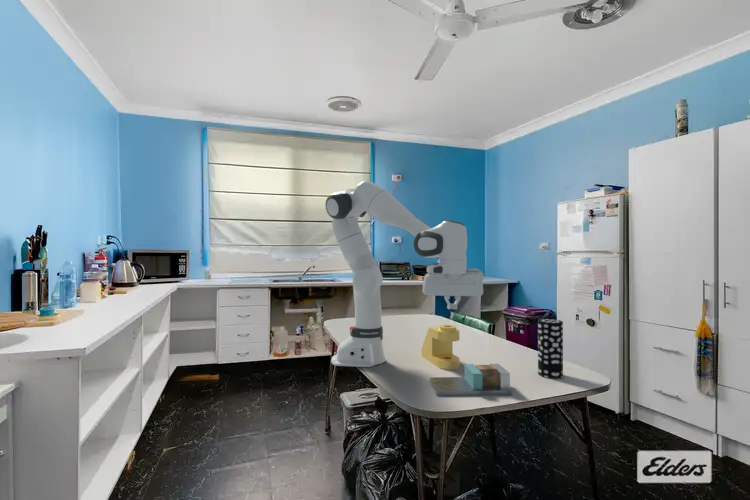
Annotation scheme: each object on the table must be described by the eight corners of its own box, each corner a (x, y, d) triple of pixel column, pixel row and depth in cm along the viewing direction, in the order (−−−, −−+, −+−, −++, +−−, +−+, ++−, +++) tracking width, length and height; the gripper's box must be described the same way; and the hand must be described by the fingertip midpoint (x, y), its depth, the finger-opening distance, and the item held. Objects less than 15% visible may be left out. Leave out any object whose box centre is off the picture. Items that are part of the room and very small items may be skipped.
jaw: (473, 389, 120) (473, 373, 120) (464, 378, 130) (464, 364, 130) (482, 389, 120) (482, 373, 120) (473, 378, 130) (472, 364, 130)
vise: (437, 396, 118) (437, 375, 118) (429, 381, 131) (429, 363, 131) (511, 394, 119) (511, 374, 119) (496, 380, 132) (496, 362, 132)
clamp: (463, 368, 145) (463, 328, 145) (442, 371, 142) (442, 329, 142) (440, 354, 164) (440, 318, 164) (421, 356, 161) (421, 319, 161)
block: (479, 385, 123) (479, 369, 123) (475, 380, 127) (475, 364, 127) (497, 385, 123) (497, 368, 123) (492, 380, 127) (492, 364, 127)
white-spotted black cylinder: (543, 369, 143) (543, 318, 143) (566, 374, 137) (566, 320, 137) (534, 374, 137) (534, 321, 137) (558, 380, 132) (557, 324, 132)
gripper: (480, 268, 129) (479, 308, 129) (422, 267, 128) (421, 307, 128) (486, 269, 123) (485, 311, 123) (425, 268, 122) (424, 310, 122)
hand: (452, 309), depth 126 cm, fingers closed
